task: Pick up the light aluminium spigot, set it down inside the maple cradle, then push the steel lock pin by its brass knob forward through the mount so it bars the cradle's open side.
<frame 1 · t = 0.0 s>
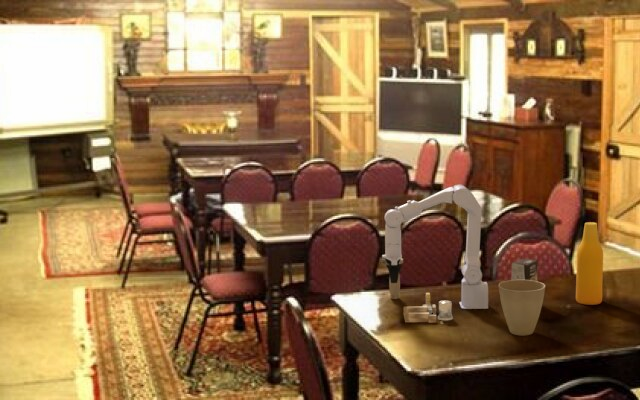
hand: (393, 280, 336), 10 cm above the table, tool pointing down, fingers open, 7 cm apart
coffee box: (523, 305, 337), on the table
dock: (417, 318, 324), on the table
spigot: (445, 318, 322), on the table
plant pot: (520, 332, 306), on the table
beer bottle: (588, 302, 339), on the table
handle: (394, 298, 349), on the table
lock pin: (429, 303, 331), point 3 cm above the table, slide at 0.0 cm
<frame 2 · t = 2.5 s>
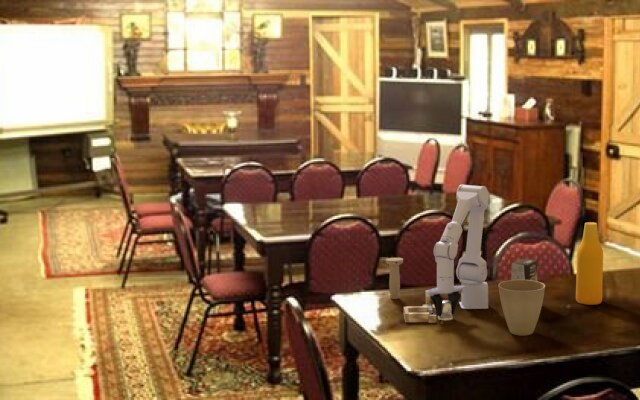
hand: (445, 314, 322), 2 cm above the table, tool pointing down, fingers closed on spigot, 4 cm apart
spigot: (445, 318, 322), on the table, touching gripper
everything else where it was.
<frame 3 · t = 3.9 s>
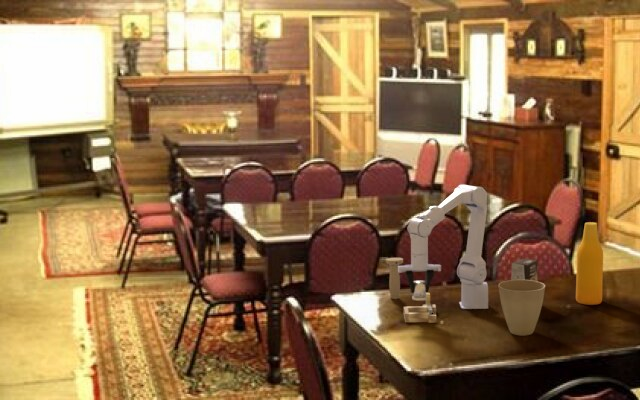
hand: (419, 291, 322), 10 cm above the table, tool pointing down, fingers closed on spigot, 4 cm apart
spigot: (419, 298, 322), point 7 cm above the table, touching gripper
everything else where it was.
when the fingers open (3 cm above the table, at t = 5.6 s): spigot drops 1 cm, resting in dock.
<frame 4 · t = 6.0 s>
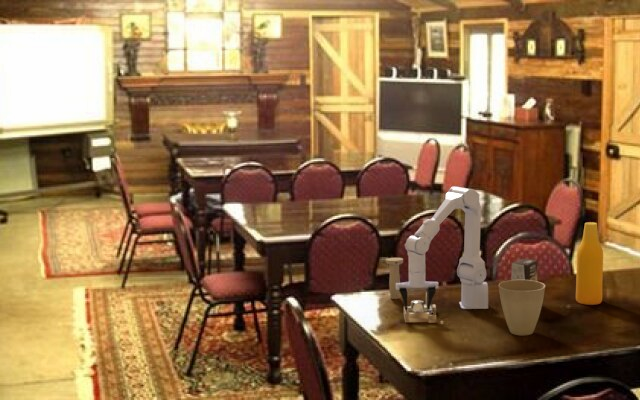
hand: (417, 308, 323), 3 cm above the table, tool pointing down, fingers open, 7 cm apart
spigot: (417, 318, 323), resting in dock
everything else where it was.
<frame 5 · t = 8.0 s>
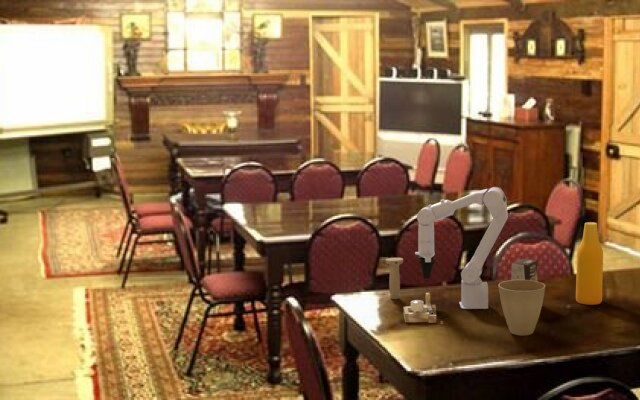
hand: (426, 277, 340), 10 cm above the table, tool pointing down, fingers open, 3 cm apart
nothing on the table moved.
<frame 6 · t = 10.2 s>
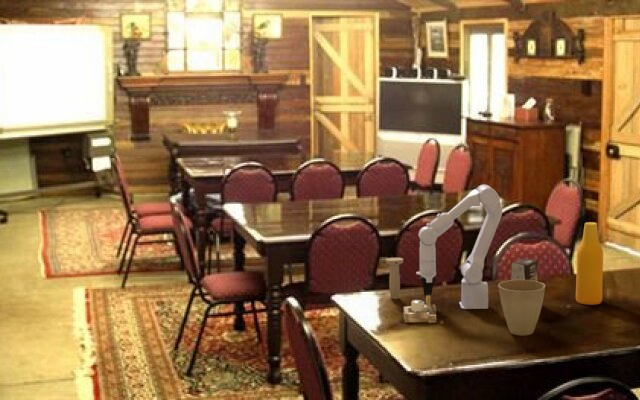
hand: (427, 297, 336), 4 cm above the table, tool pointing down, fingers closed
lock pin: (429, 304, 329), point 3 cm above the table, slide at 1.3 cm, touching gripper
everything else where it was.
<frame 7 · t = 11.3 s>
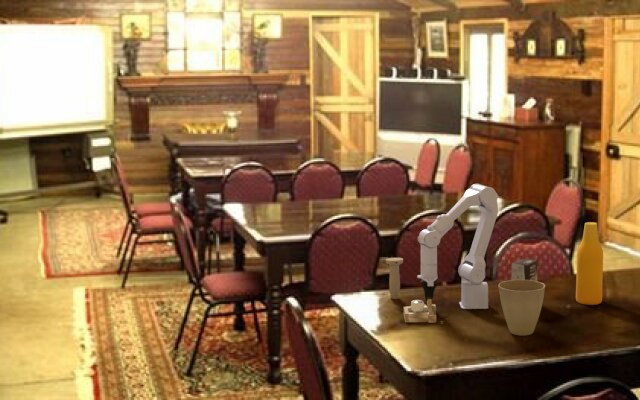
hand: (428, 300, 331), 4 cm above the table, tool pointing down, fingers closed
lock pin: (430, 307, 325), point 3 cm above the table, slide at 6.1 cm, touching gripper
everything else where it was.
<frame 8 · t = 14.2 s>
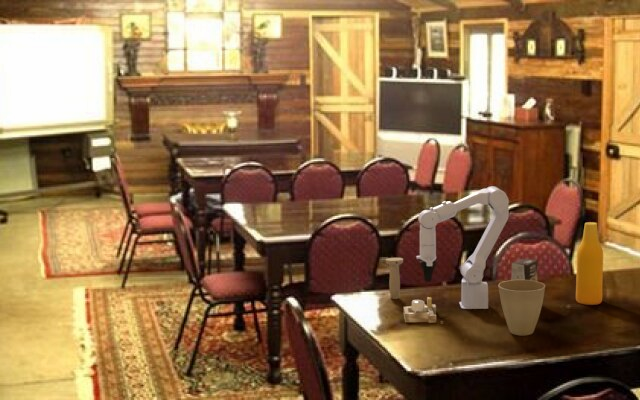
hand: (427, 281, 334), 10 cm above the table, tool pointing down, fingers closed
lock pin: (430, 307, 325), point 3 cm above the table, slide at 6.0 cm
everything else where it was.
at the end: spigot 0.3 cm off-centre on the dock, point 0.1 cm above the dock's base; spigot tilted 4°; lock pin slide at 6.0 cm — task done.
